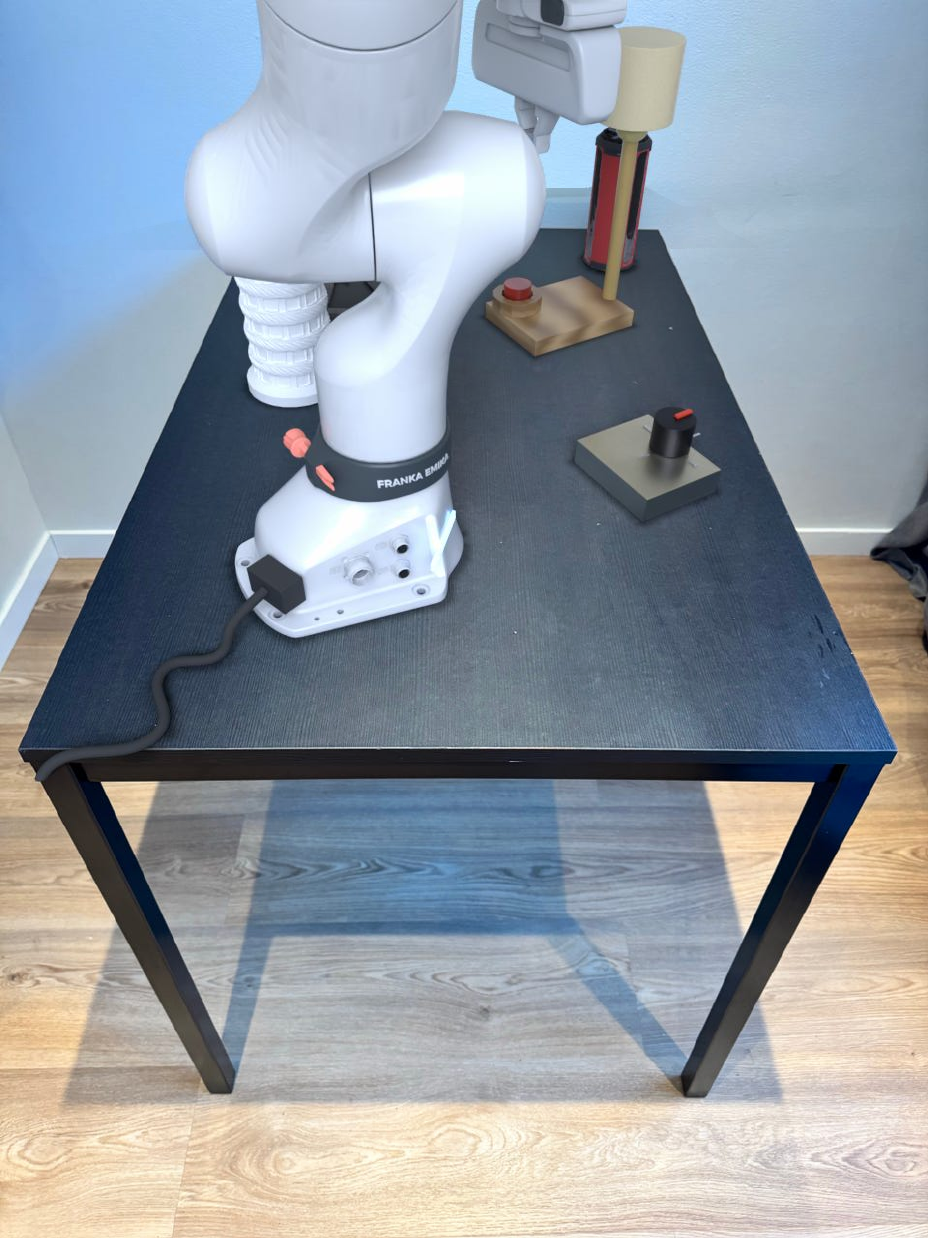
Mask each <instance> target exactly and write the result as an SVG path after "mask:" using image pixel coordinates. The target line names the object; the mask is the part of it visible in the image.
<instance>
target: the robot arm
mask: <svg viewBox="0 0 928 1238" xmlns="http://www.w3.org/2000/svg"><path fill="white" fill-rule="evenodd" d="M464 1H465V0H255V5H256V12H257V13H256V14H257V20H258V27H259V37H260V38H259V39H260V52H261V53H260V54H261V71H260V75H259V78H258V80H257V82H256V85H255V87H254V88H253V90H252V92H251V93H250V94H249V96H248V97H247V99H246V100H245V102H244V103H243V104H242V105H241V106H240V107H239V108H238V109H237V110H236V111H235V112H234V113H232V114H231V116H229V117H227V118H226V119H225V120H224V121H222V122H220V123H218V124H216V125H215V126H213V127H212V128H210V129H208V130H205V132H204V133H203V134H202V136H201V137H200V138H199V140H198V142H197V143H196V145H195V146H194V148H193V150H192V152H191V154H190V157H189V159H188V163H187V167H186V170H185V176H184V188H183V192H184V193H183V196H184V197H183V198H184V207H185V211H186V216H187V220H188V223H189V226H190V229H191V231H192V234H193V236H194V238H195V239H196V242H197V244H198V245H199V247H200V248H201V249H202V251H203V253H204V254H205V255H206V257H207V258H208V259H209V261H211V263H212V264H213V265H214V266H215V267H216V268H217V269H219V271H220V272H222V273H223V274H225V276H229V277H233V278H234V277H240V278H246V279H251V280H257V281H264V282H272V283H279V284H287V285H297V284H316V283H336V282H355V281H374V280H375V279H376V281H379V282H381V283H380V284H379V286H378V287H377V288H376V290H375V291H374V292H373V293H372V294H371V295H370V296H369V297H367V298H366V299H365V300H363V301H362V302H360V303H358V304H357V305H355V306H353V307H351V308H350V309H348V310H346V311H345V312H343V313H342V314H340V315H339V316H338V317H336V318H335V319H334V320H333V321H332V322H331V323H330V324H329V326H328V327H327V328H326V329H325V330H324V332H323V333H322V335H321V336H320V338H319V340H318V342H317V344H316V347H315V351H314V355H313V368H314V376H315V384H316V392H317V399H318V403H317V405H318V413H319V423H318V425H317V427H316V430H315V433H314V437H313V439H312V441H311V439H309V437H308V438H307V436H306V434H305V433H304V431H303V430H301V429H300V428H291V429H289V430H287V431H286V433H285V435H284V436H283V441H282V442H283V444H284V446H285V447H286V448H287V449H288V450H289V451H290V454H291V455H292V456H293V457H295V458H299V459H300V458H303V459H304V465H303V466H302V467H301V468H299V470H297V472H296V473H295V474H294V475H293V476H292V477H291V478H290V479H289V480H288V481H286V482H285V484H283V486H281V488H279V489H278V491H276V492H275V493H274V494H273V495H272V496H271V497H270V498H268V499H267V501H266V502H264V503H263V504H262V505H260V508H259V509H258V512H257V514H256V517H255V522H254V533H253V537H251V538H249V539H247V540H245V541H244V542H242V543H240V545H238V547H237V549H236V552H235V556H234V566H235V576H236V580H237V584H238V587H239V588H240V591H241V593H242V594H243V596H244V598H245V601H244V602H243V603H241V605H240V606H239V607H238V608H237V609H236V610H235V611H234V612H233V613H232V615H231V616H230V618H229V619H228V620H227V622H226V624H225V626H224V628H223V632H222V635H221V643H220V645H219V647H218V648H217V649H215V650H214V651H212V652H210V653H206V654H198V655H181V656H176V657H172V658H170V659H167V660H166V661H164V662H163V663H162V664H160V666H158V668H157V669H156V670H155V671H154V674H153V675H152V677H151V683H150V686H151V693H152V698H153V700H154V703H155V706H156V710H157V714H158V717H157V722H156V725H155V726H154V728H153V729H152V730H151V731H150V732H148V733H147V734H145V735H144V736H142V737H140V738H137V739H135V740H132V741H128V742H127V741H126V742H122V743H115V744H101V745H87V746H78V747H73V748H69V749H64V750H61V751H60V752H57V753H55V754H54V755H52V756H51V757H49V758H48V759H47V760H46V761H45V762H43V764H42V765H40V767H39V768H38V770H37V772H36V774H35V775H34V777H33V779H34V782H37V783H40V782H44V781H45V780H47V779H48V778H49V777H50V776H51V775H52V774H53V772H54V771H56V770H58V768H59V767H61V766H63V765H65V764H68V763H70V762H73V761H79V760H85V759H96V758H109V757H111V758H112V757H119V756H127V755H132V754H135V753H138V752H142V751H144V750H146V749H148V748H149V747H151V746H153V745H154V744H156V743H157V742H158V741H159V740H160V739H162V737H164V735H165V734H166V732H167V731H168V728H169V726H170V724H171V723H170V722H171V717H172V716H171V710H170V706H169V702H168V700H167V696H166V693H165V690H164V681H165V679H166V677H167V676H168V674H169V673H171V672H172V671H174V670H176V669H179V668H189V667H204V666H209V665H214V664H216V663H218V662H221V661H222V660H224V659H225V658H226V657H227V656H228V654H230V652H231V649H232V645H233V641H234V635H235V633H236V631H237V629H238V627H239V626H240V624H241V623H242V622H243V620H244V619H245V618H246V617H247V616H248V615H249V614H250V612H252V611H254V613H255V614H256V615H257V616H258V617H259V618H260V619H261V620H262V622H264V623H265V624H266V625H267V626H269V627H270V628H271V629H273V630H274V631H276V632H278V633H280V634H282V635H284V636H287V637H289V638H293V639H297V638H298V639H299V638H304V637H308V636H311V635H315V634H320V633H323V632H328V631H331V630H336V629H340V628H344V627H347V626H351V625H356V624H360V623H363V622H367V621H371V620H376V619H379V618H383V617H384V618H385V617H388V616H392V615H395V614H399V613H404V612H407V611H412V610H415V609H419V608H423V607H428V606H431V605H436V604H438V603H441V602H443V601H444V600H445V598H446V596H447V593H448V589H449V578H450V576H451V574H452V573H453V571H454V570H455V568H456V567H457V565H458V564H459V562H460V560H461V558H462V555H463V551H464V536H463V533H462V531H461V528H460V525H459V523H458V520H457V517H456V510H455V508H454V505H453V500H452V499H453V498H452V494H451V493H452V492H451V486H450V478H449V468H450V466H451V464H452V463H451V462H452V428H451V427H452V426H451V422H450V418H449V416H448V415H447V390H448V379H449V378H448V376H449V367H450V366H449V365H450V357H451V353H452V352H451V351H452V347H453V343H454V340H455V338H456V335H457V332H458V330H459V328H460V326H461V324H462V322H463V320H464V318H465V316H466V315H467V313H468V312H469V310H470V308H471V307H472V306H473V304H474V303H475V301H476V300H478V298H479V296H480V295H482V293H483V292H484V291H485V290H486V289H487V287H488V286H489V285H491V283H493V281H494V280H495V279H497V278H498V277H499V276H500V275H501V274H503V273H504V272H505V271H507V270H508V269H509V268H512V266H514V265H515V264H517V263H518V262H519V261H520V260H521V259H522V258H523V257H524V255H525V254H526V253H527V252H528V251H529V249H530V248H531V246H532V245H533V243H534V241H535V240H536V238H537V236H538V233H539V231H540V228H541V225H542V223H543V219H544V216H545V209H546V203H547V183H546V177H545V169H544V167H543V163H542V160H541V157H540V154H546V153H549V151H550V148H551V135H552V133H553V132H554V129H555V128H556V125H557V123H558V121H559V119H560V118H563V119H566V120H567V121H570V122H572V123H575V124H576V125H579V126H589V125H596V124H600V122H604V121H606V120H607V119H608V118H609V117H610V115H611V114H612V112H613V111H614V108H615V105H616V100H617V93H618V85H619V77H620V66H621V51H622V47H621V38H620V34H619V32H618V30H617V28H618V27H616V26H615V25H621V24H622V23H624V22H625V20H626V16H627V9H628V0H479V1H478V3H477V6H476V9H475V14H474V20H473V29H472V40H471V56H470V58H471V59H470V61H471V62H470V65H471V69H472V72H473V77H474V78H475V79H476V80H477V81H479V82H481V83H483V84H486V85H488V86H490V87H493V88H495V89H496V90H497V89H498V90H499V91H502V92H504V93H507V94H508V95H511V96H513V97H514V103H513V107H514V112H515V115H516V118H517V122H516V121H513V120H509V119H503V118H499V117H495V116H490V115H486V114H480V113H474V112H469V111H464V110H463V111H462V110H459V109H458V110H457V109H446V107H447V105H448V103H449V101H450V99H451V96H452V94H453V92H454V88H455V85H456V81H457V75H458V65H459V55H460V45H461V34H462V33H461V32H462V23H463V22H462V21H463V12H464V10H463V9H464Z"/></svg>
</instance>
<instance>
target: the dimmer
mask: <svg viewBox="0 0 928 1238" xmlns="http://www.w3.org/2000/svg"><path fill="white" fill-rule="evenodd" d="M653 421H654V416H652V415H650V413H649V414H648V413H647V414H644V415H642V416H639V417H637V418H634V419H632V420H629V421H626V422H623V423H620V424H617V425H615V426H612V427H609V428H607V429H604V430H601V431H599V432H595V433H593V434H590V435H587V436H585V437H582V438H579V439H577V440H576V446H575V453H574V454H575V455H574V464H576V465H577V466H578V467H579V468H580V469H581V470H582V471H583V472H584V473H586V474H587V475H588V476H589V477H590V478H592V480H594V481H595V482H596V483H597V484H598V485H599V486H601V487H602V488H603V489H604V490H605V491H606V492H607V493H608V494H609V495H611V496H612V497H613V498H614V499H615V500H616V501H617V502H618V503H619V504H621V505H622V506H623V507H624V508H625V509H626V510H627V511H629V512H630V513H631V514H632V515H633V516H634V517H636V518H637V519H638V520H639V521H640V522H641V523H645V522H648V521H649V520H652V519H655V518H656V517H659V516H662V515H664V514H666V513H668V512H669V513H670V512H671V511H674V510H676V509H678V508H681V507H683V506H685V505H689V504H690V503H692V502H693V503H694V502H695V501H697V500H700V499H702V498H704V497H707V496H709V495H711V494H714V493H716V490H717V486H718V482H719V479H720V476H721V471H722V469H721V468H720V467H718V466H717V465H715V464H714V463H713V462H712V461H710V460H709V459H708V458H706V457H705V456H704V455H703V454H701V453H700V452H698V451H697V449H695V448H694V447H692V446H691V447H690V451H689V452H688V453H687V454H686V455H684V456H682V457H677V458H669V457H664V456H661V455H658V454H657V453H655V452H654V451H653V450H652V449H651V448H650V445H649V441H650V436H651V431H652V426H653ZM700 436H702V434H701V433H700V432H697V433H694V435H693V439H695V438H698V437H700Z"/></svg>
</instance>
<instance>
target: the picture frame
mask: <svg viewBox="0 0 928 1238" xmlns="http://www.w3.org/2000/svg"><path fill="white" fill-rule="evenodd" d="M380 283H381V282H379V281H376V279H375V280H374V281H355V282H336V283H324V286H325V288H326V291H327V294H328V296H327V297H328V303H327V307H326V309H327V312H328V315H329V317H330V320H331V322H332V321H333V320H334V319H335V318H336V317H338V316H339V315H340V314H342V313H343V312H345V311H346V310H348V309H350V308H351V307H353V306H355V305H357V304H358V303H360V302H362V301H363V300H365V299H366V298H367V297H369V296H370V295H371V294H372V293H373V292H374V291H375V290H376V288H377V287H378V286H379V284H380ZM331 322H330V323H331Z"/></svg>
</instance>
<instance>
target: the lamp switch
mask: <svg viewBox="0 0 928 1238" xmlns="http://www.w3.org/2000/svg"><path fill="white" fill-rule="evenodd" d="M503 284H504V297H505V298H506V299H509V300H512V301H524V300H527V299H530V297H531V285H532V281H531V280H530V279H527V278H525V277H524V278H523V277H520V276H519V277H515V276H514V277H510V278H507V279H506V280H505V281H504V282H503Z"/></svg>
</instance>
